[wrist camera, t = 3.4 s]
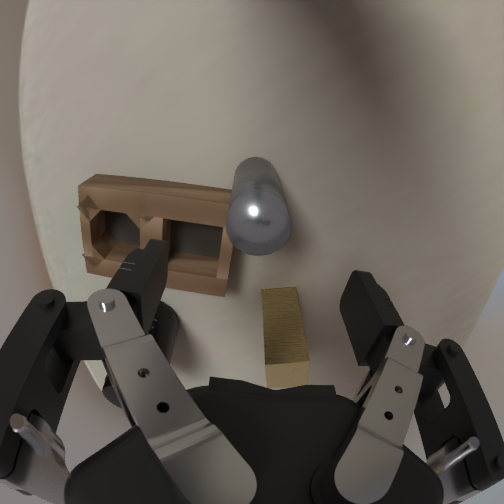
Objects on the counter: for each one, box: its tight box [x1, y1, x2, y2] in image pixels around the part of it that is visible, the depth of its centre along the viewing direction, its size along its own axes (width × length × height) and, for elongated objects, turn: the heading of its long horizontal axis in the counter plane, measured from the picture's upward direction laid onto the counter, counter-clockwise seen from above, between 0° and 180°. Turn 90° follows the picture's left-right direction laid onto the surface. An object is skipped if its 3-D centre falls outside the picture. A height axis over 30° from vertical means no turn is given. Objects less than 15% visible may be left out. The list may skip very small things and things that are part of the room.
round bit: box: [226, 157, 291, 256], centre depth 20 cm, size 4×4×10 cm
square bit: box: [261, 287, 310, 388], centre depth 27 cm, size 4×4×10 cm
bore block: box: [77, 174, 233, 297], centre depth 25 cm, size 9×14×4 cm, turn 80°
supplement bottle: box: [102, 301, 178, 408], centre depth 28 cm, size 7×7×12 cm
